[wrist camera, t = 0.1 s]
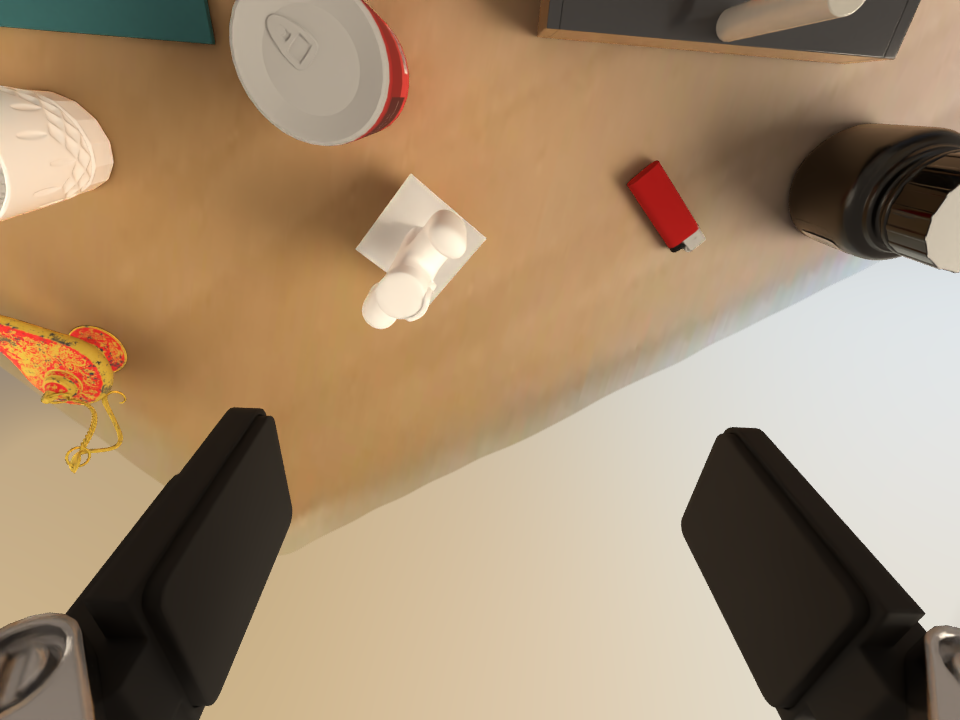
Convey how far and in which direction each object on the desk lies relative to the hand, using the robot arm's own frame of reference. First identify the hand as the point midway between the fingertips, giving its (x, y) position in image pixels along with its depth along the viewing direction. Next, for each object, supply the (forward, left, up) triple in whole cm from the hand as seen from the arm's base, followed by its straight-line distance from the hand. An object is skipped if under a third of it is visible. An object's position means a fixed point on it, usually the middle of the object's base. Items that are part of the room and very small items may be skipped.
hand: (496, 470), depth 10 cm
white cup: (-2, -31, -31) cm, 44 cm away
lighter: (0, +16, -31) cm, 35 cm away
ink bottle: (-3, +30, -31) cm, 44 cm away
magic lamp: (+15, -36, -31) cm, 50 cm away
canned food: (-8, -9, -31) cm, 34 cm away
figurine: (+3, -4, -31) cm, 32 cm away
